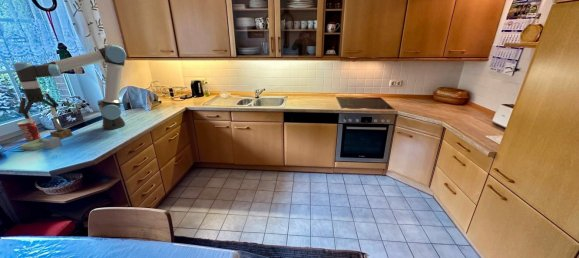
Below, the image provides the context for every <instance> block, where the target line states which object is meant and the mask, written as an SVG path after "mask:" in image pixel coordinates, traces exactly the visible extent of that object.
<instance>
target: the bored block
mask: <svg viewBox="0 0 579 258" xmlns="http://www.w3.org/2000/svg"><path fill="white" fill-rule="evenodd" d="M62 130H63V131H61V132H57V129H56V130H54V131H50V132H49V134H50V136H51V137H58V138H59V139H60V141H61V140H64V139H67V138H70V137H72V136H73V132H72V130H71V129H70V128H62Z"/></svg>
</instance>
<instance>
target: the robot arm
mask: <svg viewBox="0 0 579 258" xmlns="http://www.w3.org/2000/svg"><path fill="white" fill-rule="evenodd" d="M126 58H127V53H126V51H125V49H124V48H123V47H122V46H119V45H117V44H109V45H107V46H104V47H101V48H98V49H97V50H96V51H92V52H91V51H90V52H88V53H83V54H78V55H75V56H71V57H67V58H61V59H58V60H55V61H54V60H53V61H51V62H45V63H43V64H39V65H35V64H32V63H31V62H29V61H28V62H27V61H26V62H16V63H15V62H14V63H13V68H14V70H15V72H16V75H17V77H18V80H19V82H20V85H21V87H22V89H23V92H24V93H23V94H25V97H20V98H19V100H20V102H19V106H18V114H22V115H23V116H24V118H25V119H26V120H28V122H29V123H33V121H32V120H33V118H32V116H31V114H30V112H29V111H30V110H31V108H32V107H33V105H34V104H37V103H41V102H42V103H44V104H46V105H48V106H49V107H50V111H51V114H52V116H53V117H54V118H58V117H59V116H58V113H57V112H58V109H57V107H58V106H59V103H57V101H56V100H54V99H53V98H52V97H51V96H50V94H49V92H45V93H43V92H42V89H41V87H40V84H39V82H38V79H40V78H46V77H47V78H52V77H60V76H62V73H63V72H67V71H70V70H75V69H78V68H82V67H86V66H90V65H93V64H97V63H101V62H102V63H104V64H105V65H106V74H105V75H106V76H105V86H104V88H105V89H104V98H102V99H99V100H97V106H98V109H99V112H100V114H101V118H102V129H103V130H107V131H110V130H116V129H120V128H122V127H125V126H126V123H125V120H124V119H123V117H121V114H122V109H121V106H122V101H121V100H120V87H121V78H122V68H124V67H125V61H126ZM37 78H38V79H37ZM45 98H46V99H47V100H46V99H45ZM26 102H27V103H26Z"/></svg>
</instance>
